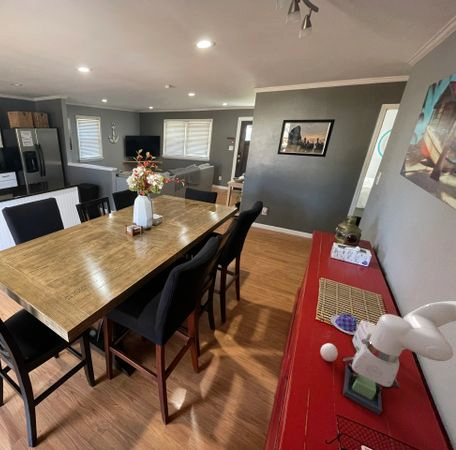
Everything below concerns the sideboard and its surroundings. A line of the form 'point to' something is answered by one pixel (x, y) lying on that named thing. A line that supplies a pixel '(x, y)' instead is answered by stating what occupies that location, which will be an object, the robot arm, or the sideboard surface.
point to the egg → (329, 352)
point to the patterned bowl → (345, 323)
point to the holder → (366, 402)
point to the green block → (364, 386)
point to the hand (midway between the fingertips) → (362, 386)
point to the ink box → (363, 333)
